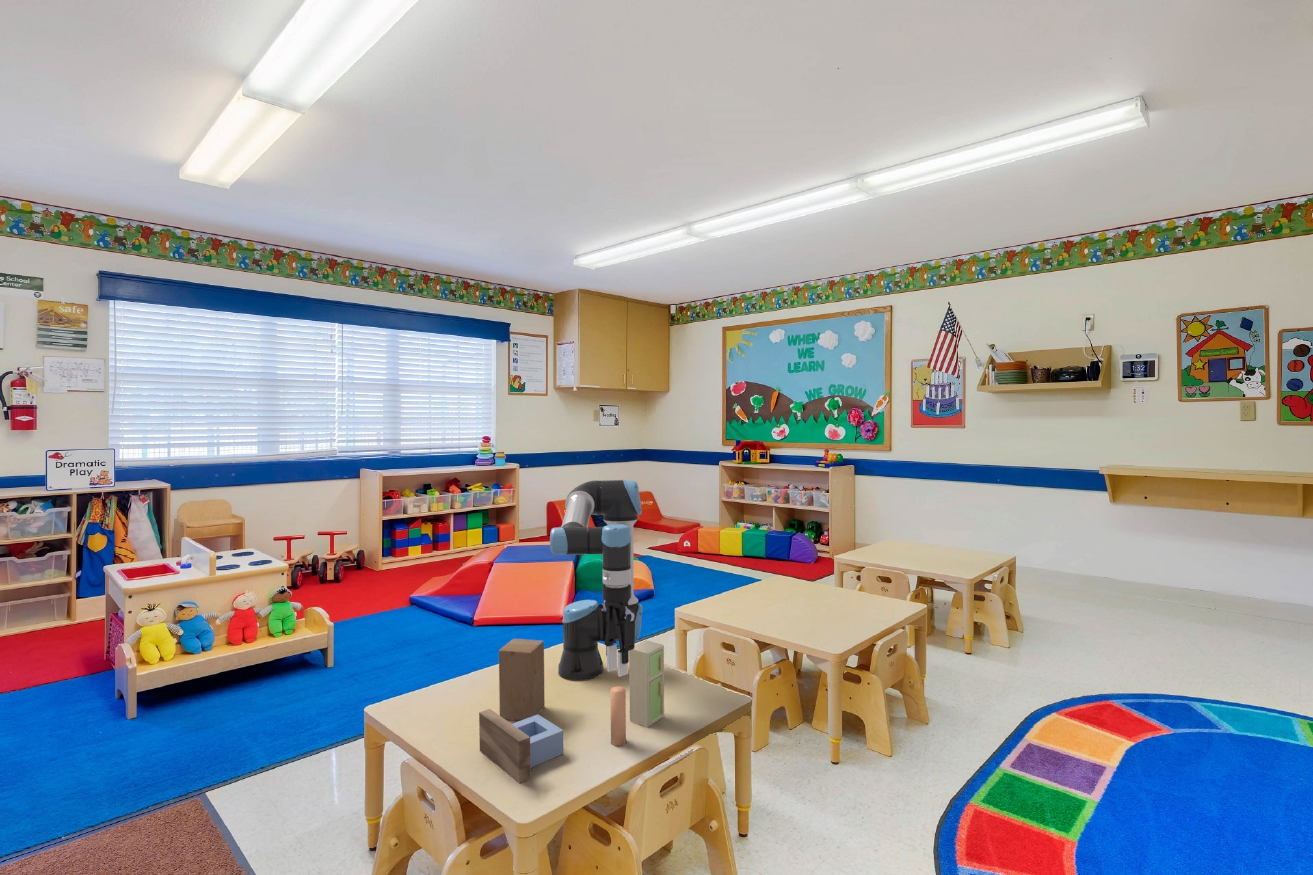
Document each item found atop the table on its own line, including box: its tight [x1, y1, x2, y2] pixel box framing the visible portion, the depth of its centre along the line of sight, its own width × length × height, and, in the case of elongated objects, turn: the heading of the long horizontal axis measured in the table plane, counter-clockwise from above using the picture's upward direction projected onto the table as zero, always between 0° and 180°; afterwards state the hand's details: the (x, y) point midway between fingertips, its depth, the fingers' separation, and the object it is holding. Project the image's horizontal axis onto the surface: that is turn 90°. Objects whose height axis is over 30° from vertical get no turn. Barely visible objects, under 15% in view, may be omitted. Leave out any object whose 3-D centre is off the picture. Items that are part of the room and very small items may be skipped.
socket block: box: [511, 714, 564, 769], centre depth 161 cm, size 12×12×6 cm
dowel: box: [609, 686, 627, 747], centre depth 166 cm, size 4×4×14 cm
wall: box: [478, 708, 532, 784], centre depth 156 cm, size 3×20×10 cm, turn 42°
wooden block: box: [498, 638, 546, 722], centre depth 183 cm, size 10×10×20 cm
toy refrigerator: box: [628, 640, 665, 728], centre depth 179 cm, size 8×7×21 cm
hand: (617, 672), depth 166 cm, fingers open, 4 cm apart
